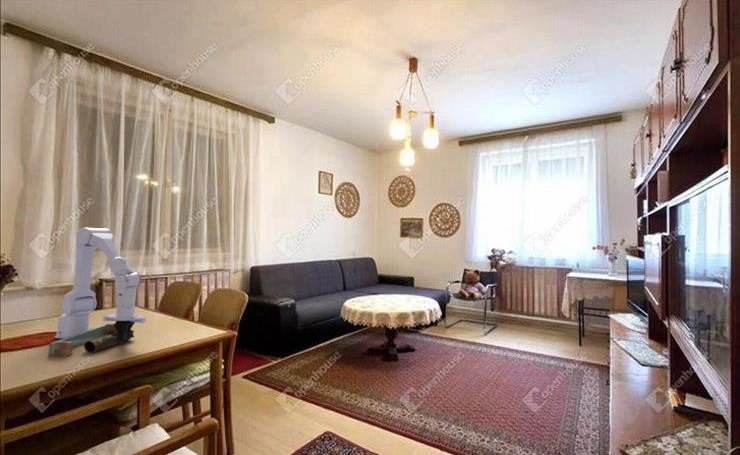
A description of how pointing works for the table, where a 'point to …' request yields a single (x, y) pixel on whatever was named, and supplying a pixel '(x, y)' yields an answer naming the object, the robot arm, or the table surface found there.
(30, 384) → the table surface
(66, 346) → the dock
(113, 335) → the metal pipe
